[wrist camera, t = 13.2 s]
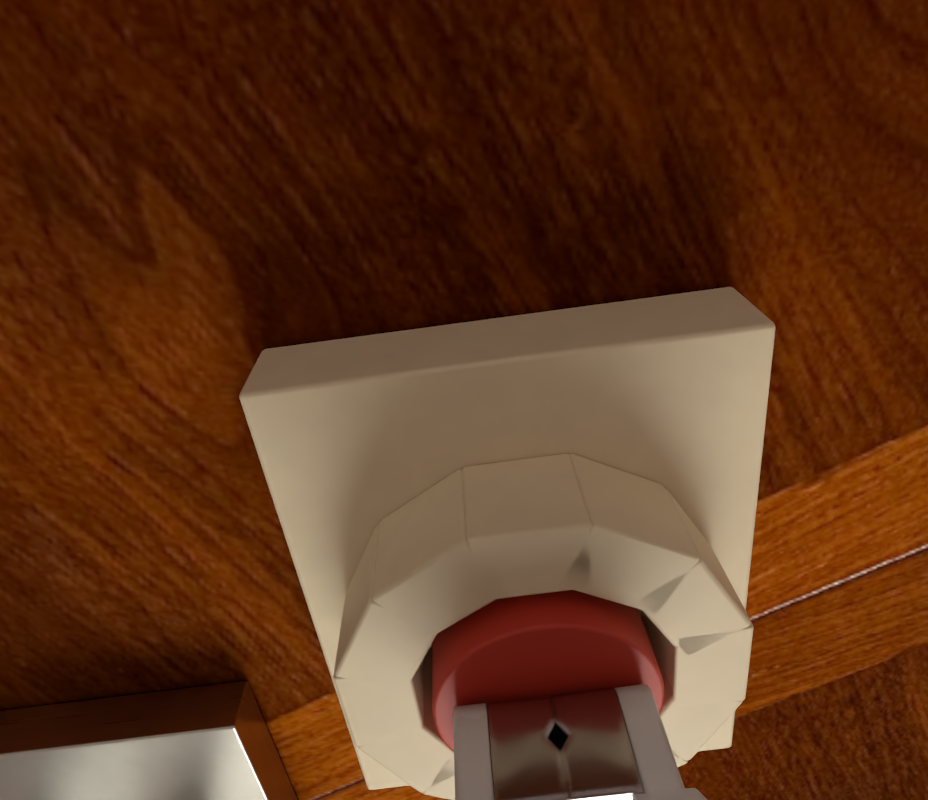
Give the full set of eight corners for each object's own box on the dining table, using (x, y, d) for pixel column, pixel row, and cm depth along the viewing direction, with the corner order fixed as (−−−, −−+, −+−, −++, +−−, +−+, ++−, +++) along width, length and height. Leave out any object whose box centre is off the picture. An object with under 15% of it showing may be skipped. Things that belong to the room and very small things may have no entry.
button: (417, 558, 11) (414, 643, 10) (635, 530, 11) (667, 611, 10) (447, 700, 13) (449, 791, 11) (635, 678, 13) (663, 766, 11)
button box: (261, 347, 12) (199, 463, 8) (732, 284, 11) (845, 380, 8) (373, 722, 16) (359, 883, 13) (704, 682, 16) (769, 836, 13)
